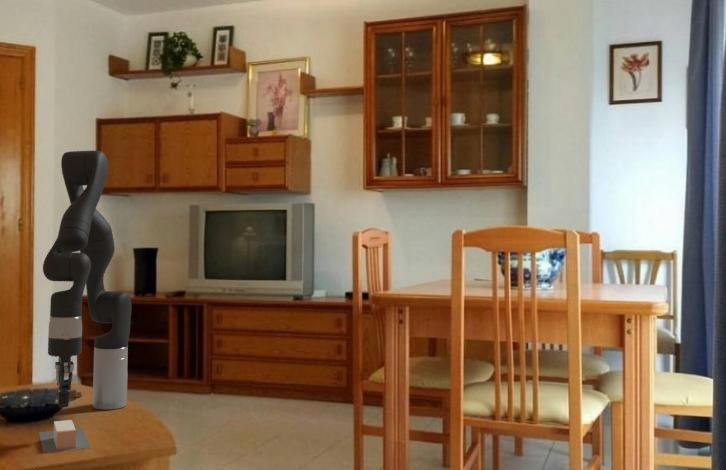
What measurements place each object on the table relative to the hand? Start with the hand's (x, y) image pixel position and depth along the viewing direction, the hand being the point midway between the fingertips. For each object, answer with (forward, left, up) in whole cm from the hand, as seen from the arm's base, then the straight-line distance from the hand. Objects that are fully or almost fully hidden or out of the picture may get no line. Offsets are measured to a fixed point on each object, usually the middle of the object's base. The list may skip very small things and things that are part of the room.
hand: (63, 406), depth 170 cm
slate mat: (+1, +1, -8) cm, 8 cm away
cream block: (-1, 0, -6) cm, 6 cm away
